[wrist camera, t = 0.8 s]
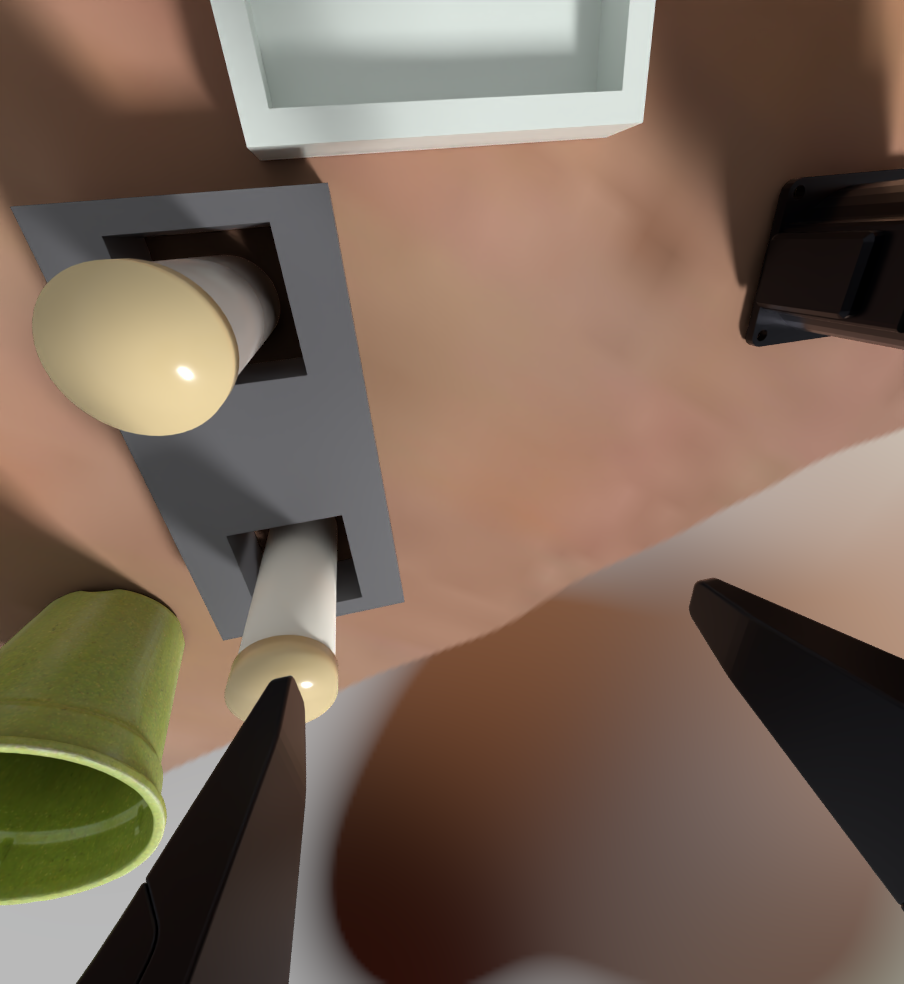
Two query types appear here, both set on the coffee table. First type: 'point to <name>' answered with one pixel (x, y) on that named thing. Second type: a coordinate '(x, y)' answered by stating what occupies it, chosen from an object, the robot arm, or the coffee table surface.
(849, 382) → the coffee table surface
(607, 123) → the parts tray
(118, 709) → the plant pot
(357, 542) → the fuse holder
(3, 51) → the coffee table surface
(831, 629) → the robot arm
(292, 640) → the cylinder
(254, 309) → the cream capped cylinder
